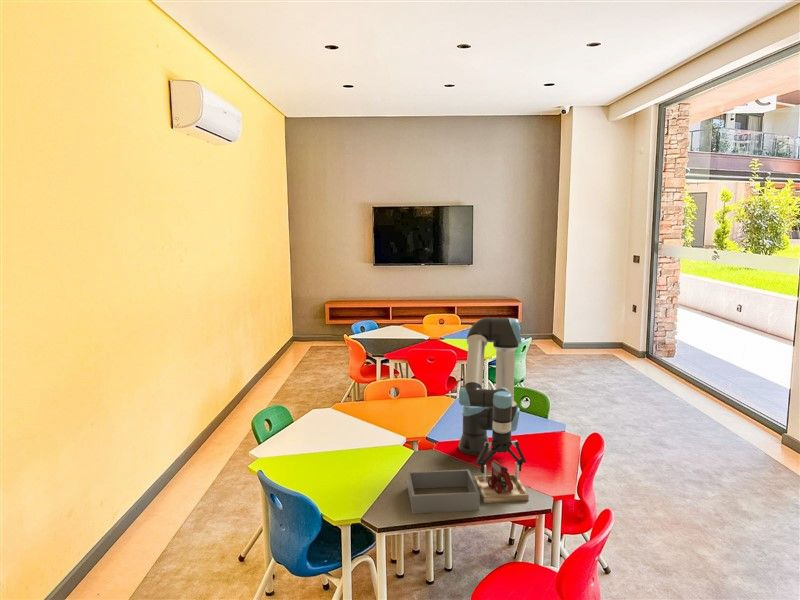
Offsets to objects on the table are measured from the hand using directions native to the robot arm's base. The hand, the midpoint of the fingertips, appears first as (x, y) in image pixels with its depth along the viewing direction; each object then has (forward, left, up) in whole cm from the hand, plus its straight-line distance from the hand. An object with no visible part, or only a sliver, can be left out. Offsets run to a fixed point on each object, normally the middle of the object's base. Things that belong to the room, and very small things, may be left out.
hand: (500, 479), depth 226 cm
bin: (+4, -25, -5) cm, 26 cm away
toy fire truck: (0, 0, -4) cm, 4 cm away
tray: (0, 0, -5) cm, 5 cm away
